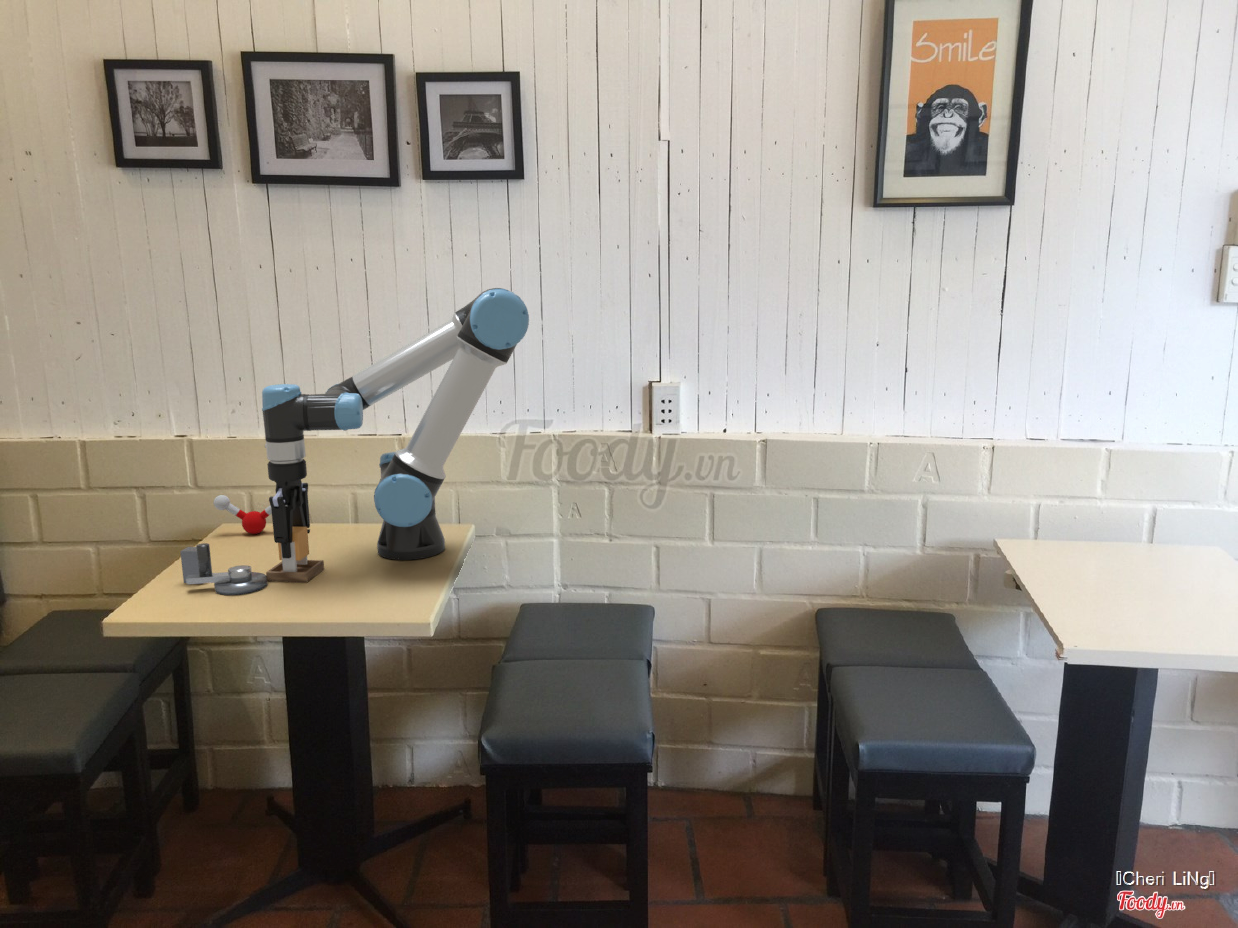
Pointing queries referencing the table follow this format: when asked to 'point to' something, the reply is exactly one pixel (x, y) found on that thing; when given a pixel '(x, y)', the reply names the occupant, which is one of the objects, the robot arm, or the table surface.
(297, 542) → the orange wooden block
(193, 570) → the gray block
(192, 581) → the crank
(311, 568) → the tray
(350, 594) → the table surface
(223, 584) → the crank base
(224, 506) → the molecular model
